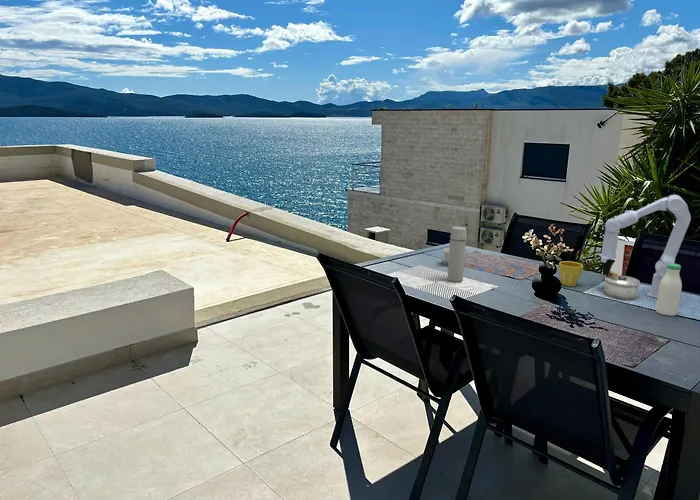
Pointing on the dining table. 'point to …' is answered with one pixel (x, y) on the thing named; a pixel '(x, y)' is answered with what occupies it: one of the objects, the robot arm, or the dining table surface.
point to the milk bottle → (669, 291)
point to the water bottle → (456, 254)
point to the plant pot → (570, 272)
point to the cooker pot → (620, 291)
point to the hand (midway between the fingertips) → (605, 275)
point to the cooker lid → (621, 280)
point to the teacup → (446, 255)
